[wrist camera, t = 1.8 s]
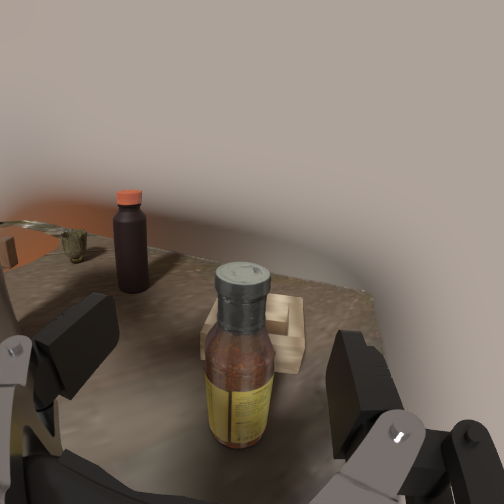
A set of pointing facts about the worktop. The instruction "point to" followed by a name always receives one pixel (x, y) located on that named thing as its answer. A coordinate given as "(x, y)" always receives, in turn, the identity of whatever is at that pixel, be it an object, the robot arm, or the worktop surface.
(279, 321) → the socket block
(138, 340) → the worktop surface
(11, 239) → the wooden block
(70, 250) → the cup
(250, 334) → the sauce bottle
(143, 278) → the vinegar
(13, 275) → the worktop surface
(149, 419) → the worktop surface
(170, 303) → the worktop surface
